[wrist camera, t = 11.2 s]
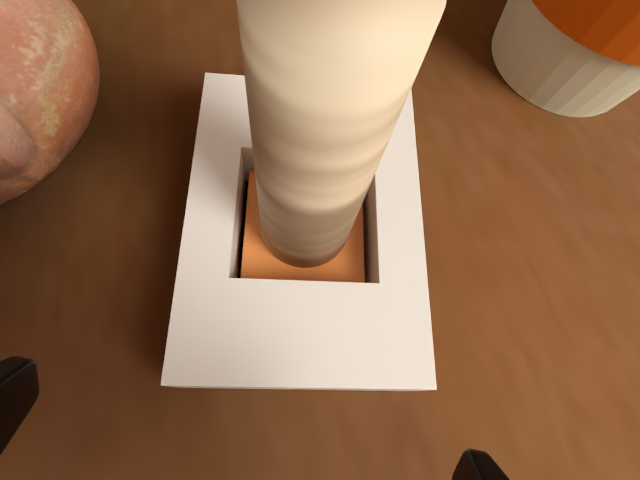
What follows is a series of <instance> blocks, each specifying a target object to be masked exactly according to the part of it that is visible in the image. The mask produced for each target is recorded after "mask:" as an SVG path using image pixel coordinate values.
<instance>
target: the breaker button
mask: <svg viewBox="0 0 640 480" xmlns="http://www.w3.org/2000/svg"><path fill="white" fill-rule="evenodd" d="M241 278H247V279H274V280H301V281H328V282H355V283H365V275H364V239H363V203H362V205H361V207H360V210H359V212H358V214H357V217H356V219H355V221H354V224H353V226H352V229H351V231H350V233H349V236H348V238H347V240H346V243H345V245H344V247H343V248H342V250H341V251H340V253H339V254H338V255H337V256H336V257H335V258H333V259H332V260H331V261H329V262H327V263H326V264H323V265H321V266H317V267H312V268H299V267H294V266H290V265H288V264H285V263H284V262H282V261H280V260H279V259H277V258H276V257H275V256H274V255H273V254H272V253H271V252H270V251H269V250H268V248H267V247H266V245H265V243H264V241H263V238H262V234H261V226H260V216H259V207H258V198H257V188H256V179H255V171H250V172H249V184H248V196H247V208H246V220H245V231H244V243H243V255H242V267H241Z"/></svg>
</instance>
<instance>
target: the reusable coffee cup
mask: <svg viewBox="0 0 640 480" xmlns="http://www.w3.org/2000/svg"><path fill="white" fill-rule="evenodd" d="M492 55H493V59H494V62H495V65H496V67H497V69H498V71H499V73H500V74H501V76H502V77H503V79H504V80H505V81H506V83H507V84H508V85H509V86H510V87H511V88H512V89H513V90H514V91H515V92H516V93H517V94H519V95H520V96H521V97H523V98H524V99H525V100H527V101H528V102H530V103H532V104H534V105H535V106H537V107H539V108H541V109H543V110H546V111H549V112H551V113H554V114H558V115H563V116H568V117H590V116H596V115H599V114H602V113H604V112H607V111H608V110H610V109H611V108H613V107H614V106H616V105H617V104H619V103H620V102H622V101H623V100H625V99H626V98H628V97H629V96H631V95H632V94H634V93H635V92H636V91H638V90H639V89H640V0H508V1H507V3H506V5H505V8H504V10H503V12H502V15H501V17H500V19H499V22H498V24H497V26H496V29H495V31H494V35H493V38H492Z"/></svg>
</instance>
